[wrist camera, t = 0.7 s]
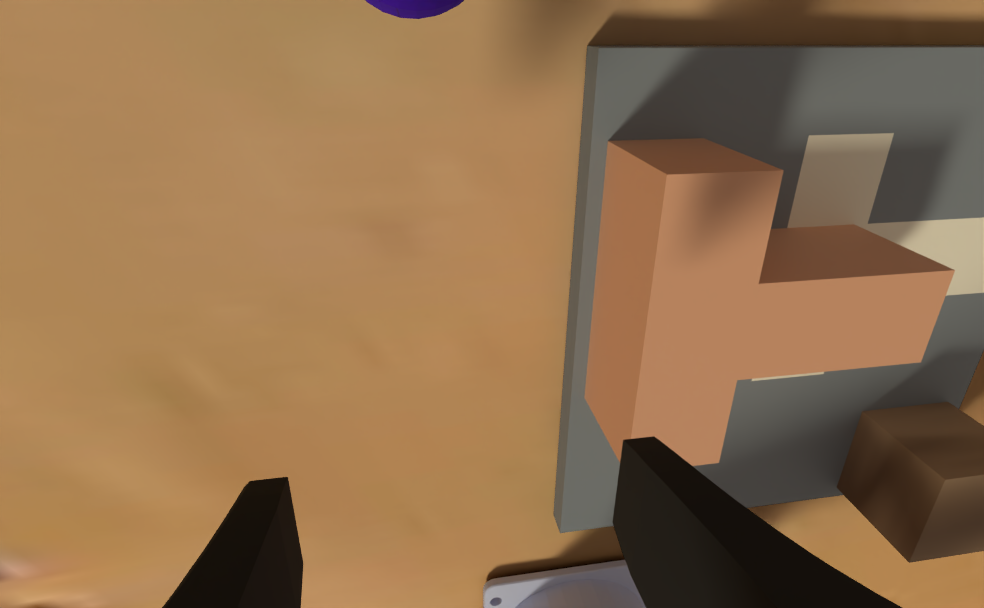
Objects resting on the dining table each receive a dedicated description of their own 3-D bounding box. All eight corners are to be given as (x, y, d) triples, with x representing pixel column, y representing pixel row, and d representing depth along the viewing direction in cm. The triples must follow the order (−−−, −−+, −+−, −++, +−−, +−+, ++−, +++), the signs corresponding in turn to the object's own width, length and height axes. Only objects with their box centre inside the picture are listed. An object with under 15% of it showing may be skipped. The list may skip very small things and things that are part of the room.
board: (910, 468, 28) (927, 483, 27) (553, 514, 25) (560, 533, 24) (1078, 45, 20) (1111, 47, 19) (587, 45, 17) (598, 47, 17)
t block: (584, 397, 22) (625, 473, 18) (607, 140, 18) (667, 174, 14) (811, 375, 23) (891, 441, 20) (880, 133, 19) (995, 162, 16)
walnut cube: (917, 476, 27) (1000, 548, 23) (836, 487, 26) (909, 562, 23) (947, 401, 25) (1042, 466, 22) (862, 411, 24) (945, 479, 21)
